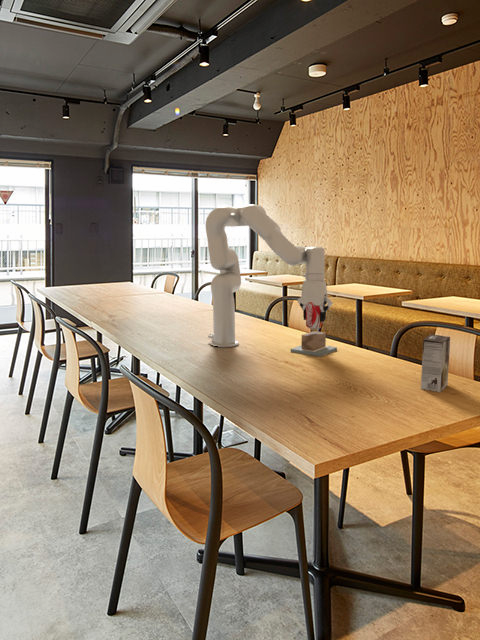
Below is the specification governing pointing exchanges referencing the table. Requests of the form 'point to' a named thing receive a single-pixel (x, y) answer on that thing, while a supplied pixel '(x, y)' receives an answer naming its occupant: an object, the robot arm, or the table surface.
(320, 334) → the walnut block
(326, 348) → the grey flat square slab
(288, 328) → the table surface
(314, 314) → the soda can
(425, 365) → the coffee box
